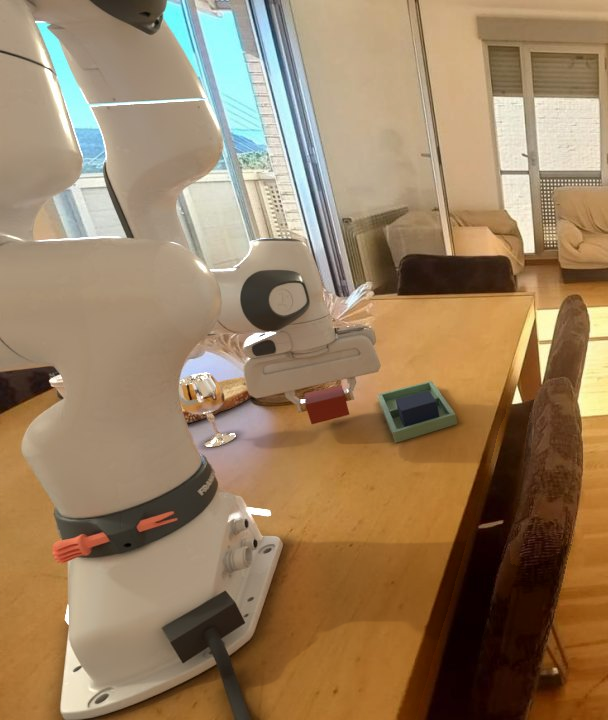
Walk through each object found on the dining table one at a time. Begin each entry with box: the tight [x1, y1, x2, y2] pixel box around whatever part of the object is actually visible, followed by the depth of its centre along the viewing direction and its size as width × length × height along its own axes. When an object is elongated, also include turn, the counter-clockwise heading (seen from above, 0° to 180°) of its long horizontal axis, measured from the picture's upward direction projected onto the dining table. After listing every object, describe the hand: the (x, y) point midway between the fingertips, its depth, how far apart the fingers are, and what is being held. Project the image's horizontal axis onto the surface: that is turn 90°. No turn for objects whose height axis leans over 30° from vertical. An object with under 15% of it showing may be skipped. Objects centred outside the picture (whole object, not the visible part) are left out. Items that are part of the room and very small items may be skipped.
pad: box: [396, 390, 440, 427], centre depth 87 cm, size 6×6×4 cm
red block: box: [304, 384, 350, 425], centre depth 86 cm, size 6×6×4 cm
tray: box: [376, 380, 458, 444], centre depth 90 cm, size 18×11×2 cm, turn 33°
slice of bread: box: [181, 376, 253, 425], centre depth 95 cm, size 18×18×4 cm
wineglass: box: [179, 372, 237, 448], centre depth 82 cm, size 6×6×12 cm
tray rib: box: [390, 397, 440, 418], centre depth 90 cm, size 1×9×2 cm, turn 124°
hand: (327, 405), depth 86 cm, fingers closed on red block, 6 cm apart
